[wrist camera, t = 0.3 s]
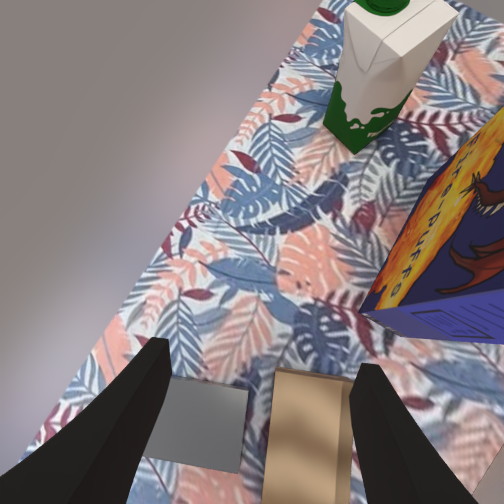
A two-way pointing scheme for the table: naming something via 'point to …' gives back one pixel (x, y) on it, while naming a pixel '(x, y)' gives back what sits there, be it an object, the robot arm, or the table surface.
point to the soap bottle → (492, 483)
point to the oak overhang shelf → (309, 439)
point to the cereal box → (450, 251)
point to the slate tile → (200, 425)
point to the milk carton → (382, 64)
